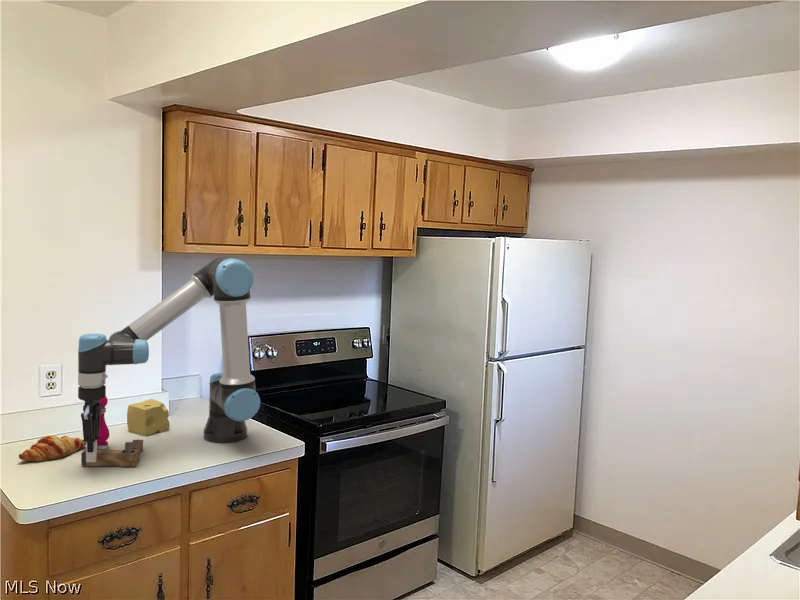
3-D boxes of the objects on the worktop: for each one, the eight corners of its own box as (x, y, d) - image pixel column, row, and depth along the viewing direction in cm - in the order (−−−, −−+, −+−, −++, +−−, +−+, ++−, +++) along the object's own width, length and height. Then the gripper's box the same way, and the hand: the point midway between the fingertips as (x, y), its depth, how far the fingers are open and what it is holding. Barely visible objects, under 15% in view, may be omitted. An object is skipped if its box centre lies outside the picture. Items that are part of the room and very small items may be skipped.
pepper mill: (99, 453, 209) (99, 392, 206) (80, 450, 210) (80, 390, 208) (114, 446, 216) (114, 387, 213) (95, 443, 217) (95, 385, 215)
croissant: (81, 455, 216) (75, 432, 217) (97, 447, 211) (90, 424, 212) (15, 472, 198) (9, 446, 199) (30, 463, 193) (24, 438, 194)
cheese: (169, 430, 235) (170, 403, 234) (144, 437, 226) (144, 409, 225) (151, 424, 241) (151, 398, 239) (125, 431, 232) (126, 404, 230)
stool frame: (143, 451, 212) (143, 430, 211) (132, 466, 199) (132, 444, 199) (97, 451, 210) (98, 430, 209) (84, 466, 197) (84, 444, 197)
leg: (139, 461, 203) (139, 448, 202) (135, 466, 198) (135, 453, 198) (85, 461, 200) (85, 448, 200) (80, 466, 196) (80, 453, 195)
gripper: (98, 390, 188) (98, 469, 191) (111, 380, 201) (110, 454, 203) (71, 390, 187) (71, 469, 189) (85, 380, 200) (85, 454, 202)
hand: (91, 461), depth 196 cm, fingers closed
